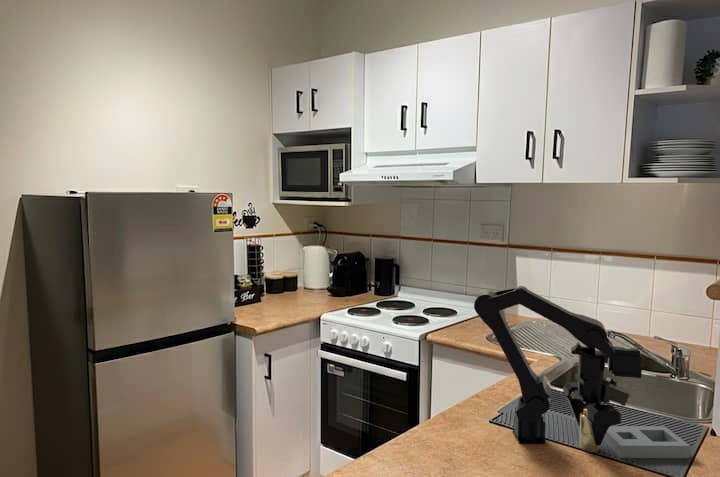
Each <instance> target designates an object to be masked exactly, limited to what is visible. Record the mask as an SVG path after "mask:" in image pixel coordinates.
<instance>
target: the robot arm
mask: <svg viewBox="0 0 720 477" xmlns="http://www.w3.org/2000/svg"><path fill="white" fill-rule="evenodd" d="M519 305H521V306H523V307H524V308H527V309H528V310H530V311H532V312H534V313H535V314H538V315H539V316H541V317H543V318H545V319H547V320H548V321H550V322H552V323H555V324H556V325H558V326H559V327H562V328H563V329H564V330H566V331H567V332H568V333H569V334H571V336H573V337H574V338H575V339H576V340H578V342H577V343H576V344H575V345H574V346H572V347H571V348H570V353H571V354H572V355H577V356H578V372H577V373H575V374H574V377H575V379H576V380H577V381H573V382H572V381H567V382H566V383H565V384H564V385H563V390H562V391H563V392H562V393H563V394H564V396H565V398H566V400H567V402H568V404H569V407H570V409H571V412H572V414H573V417H574V419H575V421H576V424H577V426H578V427H579V428H580V413H581V412H583V409H584V407H589V408H588V409H587V414H588V417H587V420H588V423H589V426H590V430H591V433H592V436H593V440H594V442H595V445H596V446H599V447H600V446H601V445H602V444H603V442H604V441H603V439H604V436H605V434H606V432H607V430H608V428H609V427H610V426H618V425H620V424H622V416H623V415H622V413H621V412H620V411H619V410H617V409H616V408H615V407H614V406H613V405H612V404H609V403H610V401H612V402H614V403H617V404H620V405H621V406H623V407H626V406H627V403H628V400H629V398H630V397H631V393H630V392H628V391H627V390H626V389H624V388H623V387H621V386H619V385H617V384H618V383H617V381H616V380H615V379H614V378H612V377H608V376H607V377H606V378H605V375H606V372H605V371H606V359H607V371H608V372H611V374H612V376H613V377H618V378H627V379H634V380H635V379H637V380H641V379H642V371H643V366H642V361H641V360H642V359H641V350H640V349H639V348H634V347H631V348H627V347H626V348H625V347H616V346H614V344H613V342H612V341H611V340H610V339H609V337H608V335H607V331H606V328H605V326H604V324H603V323H602V322H601V321H600V320H598V319H595V318H593V317H589V316H586V315H584V314H579V313H575V312H572V311H570V310H568V309H566V308H564V307H562V306H560V305H558V304H556V303H555V302H552V301H550V300H548V299H546V298H545V297H543V296H541V295H539V294H537V293H535V292H533V291H532V290H530V289H528V288H527V287H525V286H524V285H518V286H516V287H513V288H507V289H501V290H498V291H492V290H485V291H482V292H481V293H480V294H479V295H478V296H477V298H476V299H475V301H474V303H473V309H474V310H475V313H476V315H478V316H479V318H480V319H481V320H482V322H483V323H484V324H485V325H486V326H487V327H488V328H489V329H490V330H491V331H492V333H493V335H494V337H495V339H496V340H497V342H498V345H499V346H500V348H501V350H502V352H503V353H504V355H505V357H506V360H507V361H508V363H509V365H510V367H511V369H512V371H513V373H514V374H515V377H516V379H517V380H518V384H519V388H520V392H521V397H519V398H518V400H517V406H516V409H515V411H514V429H513V430H512V434H513V436H514V437H515V439H516V441H517V442H518V443H519V444H520V445H521V444H522V445H523V444H524V445H529V444H531V445H545V444H546V440H545V438H546V422H545V418H544V416H543V415H544V414H546V413H547V412H548V411H549V410H550V406H551V394H552V392H551V391H552V388H551V386H549V384H548V383H547V381H546V379H545V378H546V377H545V375H544V374H541V375H540V376H538V375H537V374H536V373H535V371H533V369H532V367H531V366H530V364H529V362H528V359H527V358H526V356H525V354H524V353H523V351H522V348H521V347H520V344H519V343H518V341H517V339H516V337H515V335H514V334H513V332H512V330H511V328H510V326H509V324H508V321H507V320H506V315H505V310H506V309H509V308H512V307H514V306H519ZM582 344H583V345H582ZM602 403H604V404H602Z"/></svg>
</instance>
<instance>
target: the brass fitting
mask: <svg viewBox="0 0 720 477" xmlns="http://www.w3.org/2000/svg"><path fill="white" fill-rule="evenodd" d="M589 407H590V406H587V407H584V409H583V412H581V413H580V427H579V433H578V435H579V437H578V438H579V439H578V440H579V441H578V447H579V449H581V450H583V451H585V452H589V453H596V452H599V450H600V446H596V445H595V442H594V440H593V436H592V433H591V430H590V426H589V423H588V420H587V417H588V414H587V409H588V408H589Z"/></svg>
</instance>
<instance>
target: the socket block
mask: <svg viewBox="0 0 720 477" xmlns="http://www.w3.org/2000/svg"><path fill="white" fill-rule="evenodd" d="M602 442H603V443H605V444H606V445H607V446H608V447H609V448H610V450H611V451H613V452H614V454H616V455H617V456H618V458H620V459H690V457H691V456H690V455H691V454H690V452H691V445H690V444H688V443H687V442H686V441H685V440H684V439H682V438H681V437H679V436H678V435H677V434H675V433H674V432H673V431H671V430H670V429H669V428H668V427H666V426H665V425H663V426H662V425H660V426H659V425H658V426H657V425H654V426H652V425H649V426H648V425H647V426H646V425H643V426H640V425H639V426H637V425H634V426H633V425H630V426H629V425H626V426H625V425H624V426H623V425H622V426H621V425H612V426H610V427H609V428H608V430H607V432H606V434H605V436H604V439H603V441H602Z"/></svg>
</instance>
